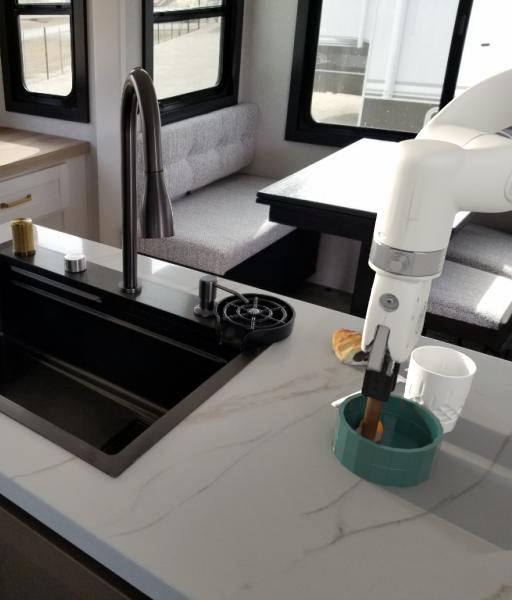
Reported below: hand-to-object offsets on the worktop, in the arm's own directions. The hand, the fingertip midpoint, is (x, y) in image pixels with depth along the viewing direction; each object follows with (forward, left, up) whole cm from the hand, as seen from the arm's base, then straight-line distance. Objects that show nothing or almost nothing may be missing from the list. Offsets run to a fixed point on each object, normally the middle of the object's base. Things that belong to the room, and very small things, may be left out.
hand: (377, 391), depth 79 cm
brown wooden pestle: (0, 0, -9) cm, 9 cm away
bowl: (-2, +1, -10) cm, 10 cm away
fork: (-10, -13, -10) cm, 19 cm away
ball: (-2, -2, -9) cm, 10 cm away
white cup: (-12, -5, -10) cm, 17 cm away
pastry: (-10, -23, -10) cm, 27 cm away
